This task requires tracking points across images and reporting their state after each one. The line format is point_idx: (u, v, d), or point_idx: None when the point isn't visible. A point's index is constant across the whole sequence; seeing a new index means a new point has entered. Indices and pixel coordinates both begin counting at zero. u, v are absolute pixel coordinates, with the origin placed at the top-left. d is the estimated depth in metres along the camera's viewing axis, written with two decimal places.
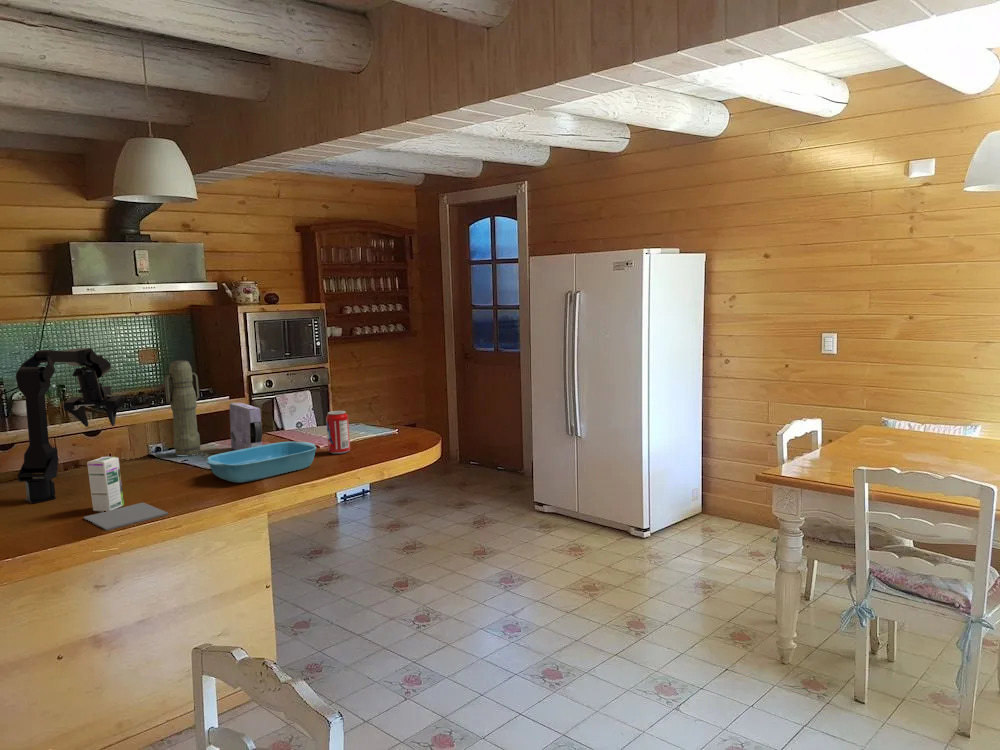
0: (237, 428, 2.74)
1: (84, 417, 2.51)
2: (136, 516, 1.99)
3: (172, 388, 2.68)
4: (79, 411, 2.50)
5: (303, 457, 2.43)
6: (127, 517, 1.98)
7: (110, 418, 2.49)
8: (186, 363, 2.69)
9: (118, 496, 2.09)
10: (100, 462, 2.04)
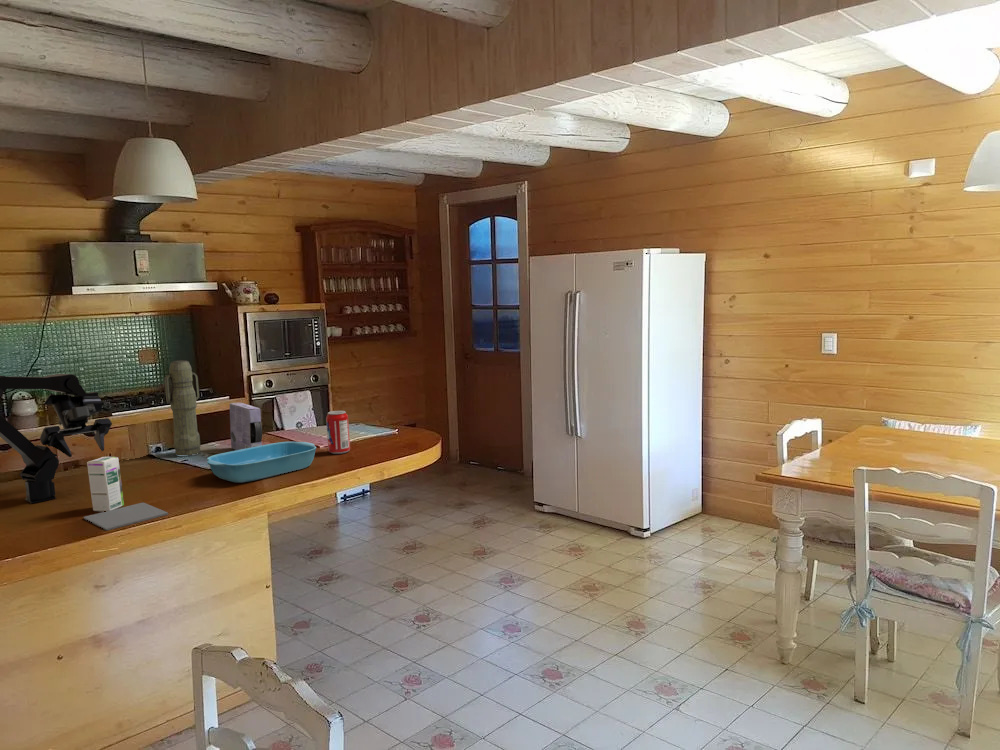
0: (237, 428, 2.74)
1: (99, 441, 2.24)
2: (136, 516, 1.99)
3: (172, 388, 2.68)
4: (96, 435, 2.26)
5: (303, 457, 2.43)
6: (127, 517, 1.98)
7: None
8: (186, 363, 2.69)
9: (118, 496, 2.09)
10: (100, 462, 2.04)
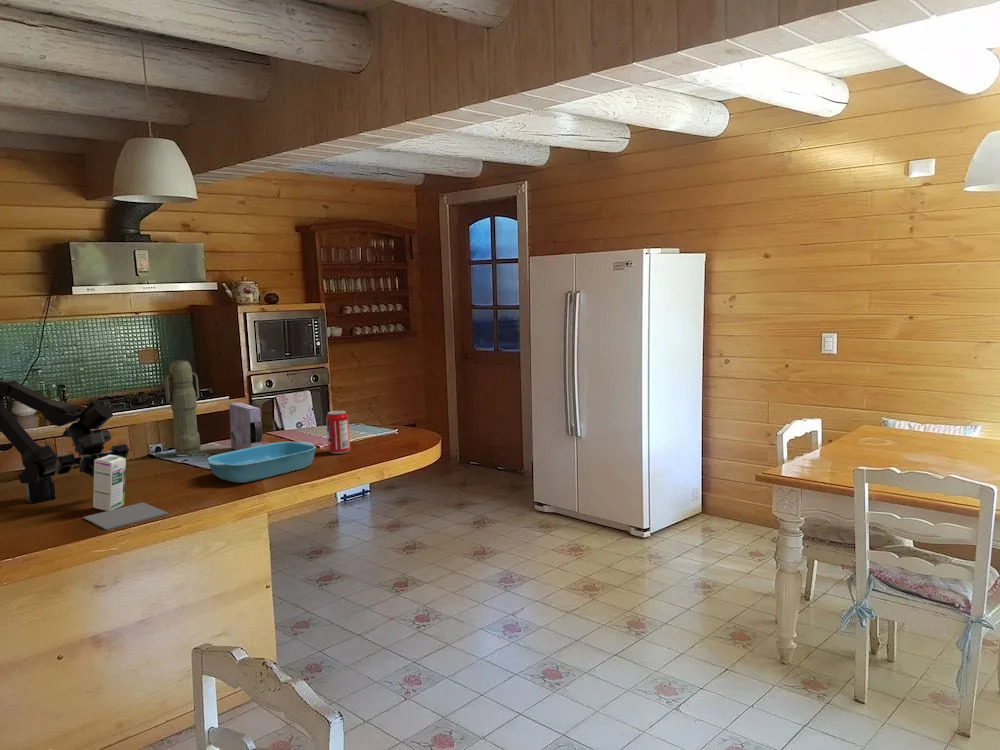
0: (237, 428, 2.74)
1: None
2: (136, 516, 1.99)
3: (172, 388, 2.68)
4: None
5: (304, 457, 2.44)
6: (127, 517, 1.98)
7: None
8: (186, 363, 2.69)
9: (120, 496, 2.09)
10: (107, 462, 2.04)
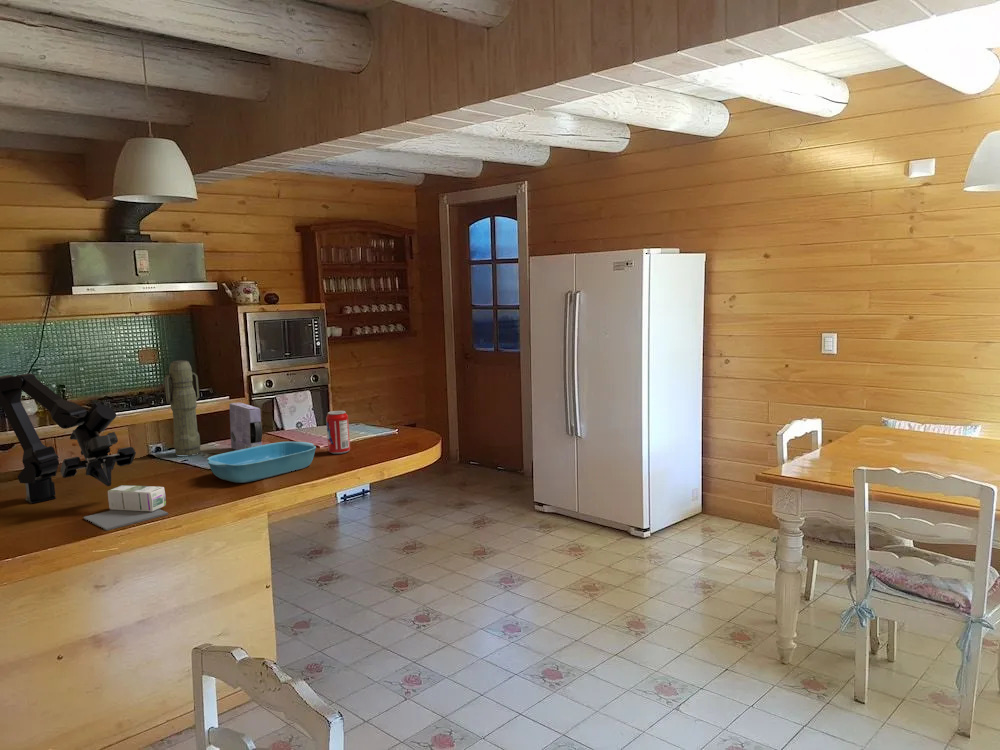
0: (237, 428, 2.74)
1: None
2: (136, 516, 1.99)
3: (172, 388, 2.68)
4: (103, 469, 2.10)
5: (304, 456, 2.44)
6: (127, 517, 1.98)
7: None
8: (186, 363, 2.69)
9: None
10: (151, 507, 2.02)
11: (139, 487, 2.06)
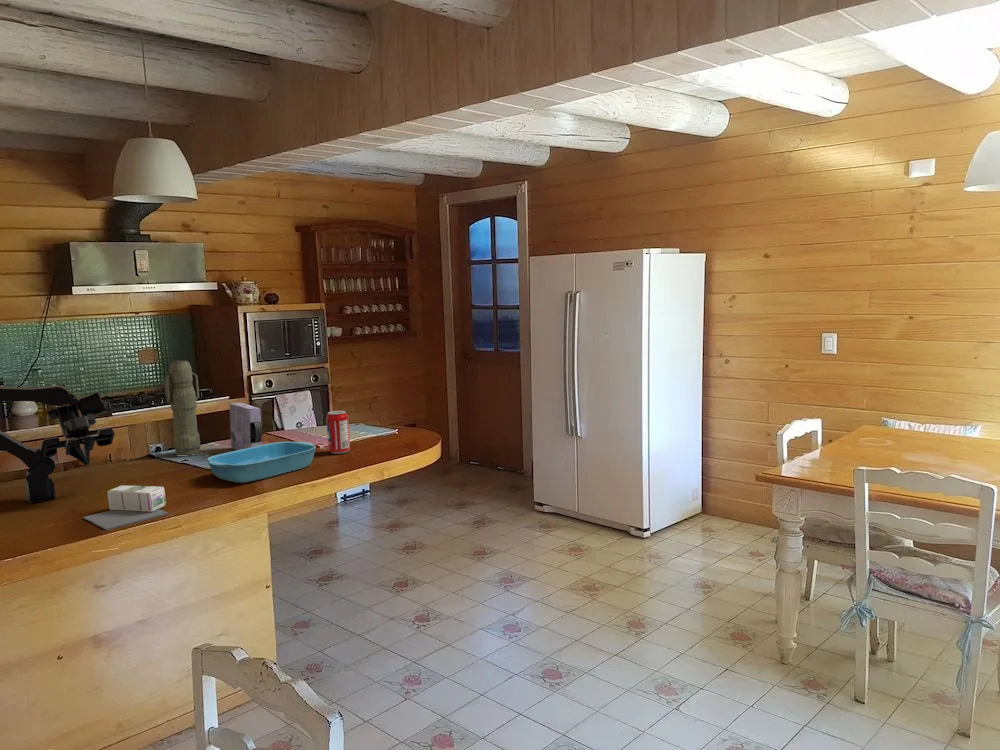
0: (237, 428, 2.74)
1: (85, 455, 2.16)
2: (136, 516, 1.99)
3: (172, 388, 2.68)
4: (82, 449, 2.18)
5: (304, 456, 2.44)
6: (127, 517, 1.98)
7: None
8: (186, 363, 2.69)
9: None
10: (151, 507, 2.02)
11: (139, 487, 2.06)
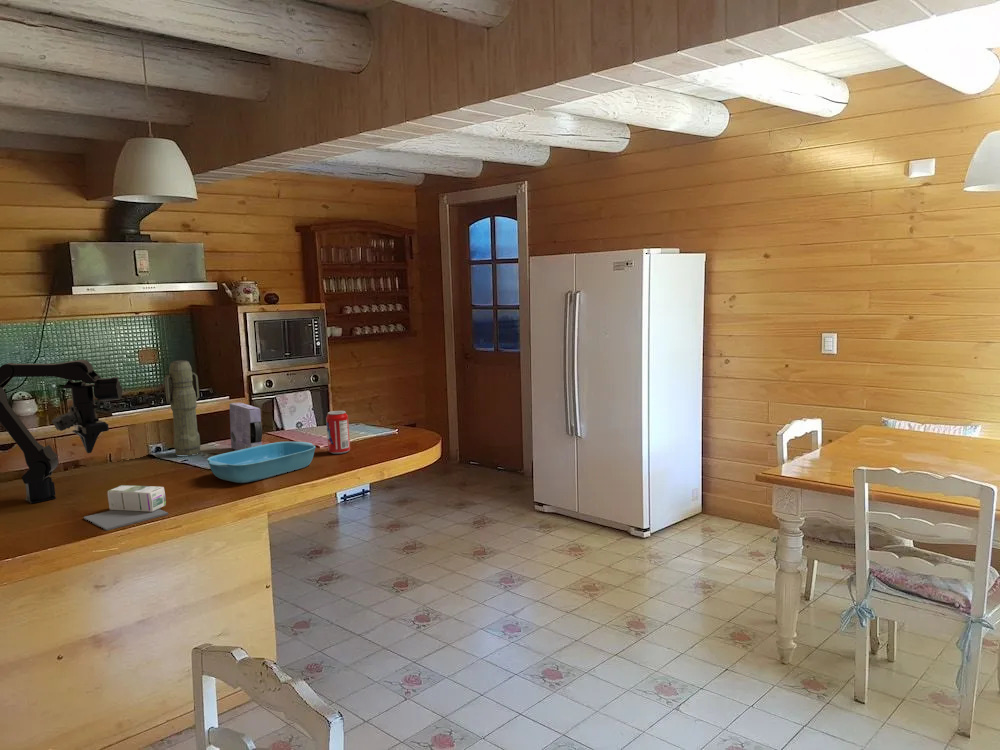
0: (237, 428, 2.74)
1: None
2: (136, 516, 1.99)
3: (172, 388, 2.68)
4: None
5: (304, 456, 2.45)
6: (127, 517, 1.98)
7: None
8: (186, 363, 2.69)
9: None
10: (151, 507, 2.02)
11: (139, 487, 2.06)
